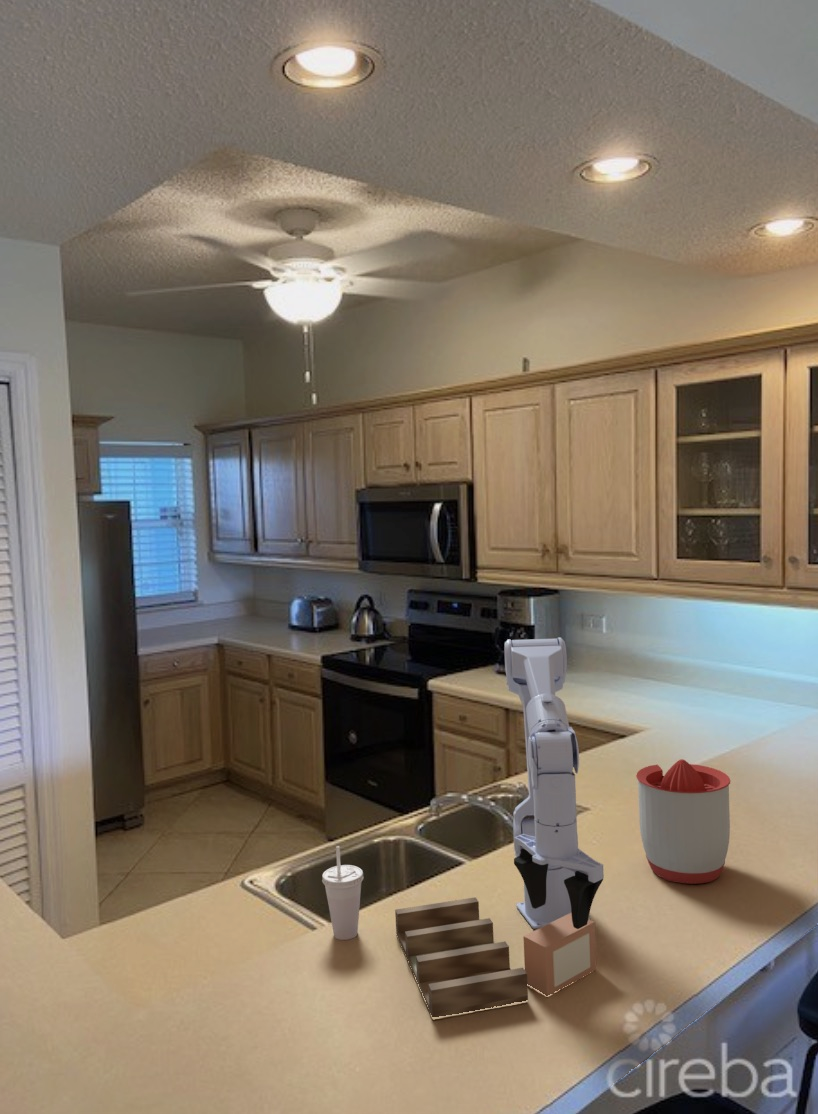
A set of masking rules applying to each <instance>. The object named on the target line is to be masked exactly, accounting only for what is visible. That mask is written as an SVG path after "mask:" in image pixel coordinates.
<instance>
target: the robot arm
mask: <svg viewBox="0 0 818 1114" xmlns="http://www.w3.org/2000/svg"><path fill="white" fill-rule="evenodd" d="M503 652H504V669H505V674H506V675H505V676H506V679H505V680H506V685H507V686H508V687H507V689H508V691H510V692H512V693H514V694H515V695H518V697H519V699H520V702H521V705H522V709H523V720H524V721H523V722H524V723H523V724H524V725H523V726H524V736H525V737H524V739H525V740H524V741H525V754H526V757H525V758H526V771H527V772H526V773H527V785H528V796H527V797H526V798H525V799H524V800H523V801H522V802H520V803H519V804H518V805H517V806H516V807H515V808H514V811H513V813H512V815H513V823H512V827H513V828H512V832H513V833H512V834H513V846H514V847H513V849H514V850H513V851H514V856H515V857H513V865H514V866H515V868H516V869H517V870H518V872H519V874H520V876H521V877H522V880H523V893H524V901H522V902H518V903H516V908H517V910H518V911H519V912H520V914H521V915H522V916H523V918H524V919H525V920H526V921H527V923H529V924H528V925H530V927H531V928H532V929H534V930H537V929H539V928H541V927H543V926H545V925H547V924H549V923H551V922H553V921H555V920H557V919H559V918H561V917H563V916H565V915H567V914H569V913H572V922H573V926H574V928H576V929H579V928H581V927H583V926H585V925H587V923H588V919H589V920H591V919H590V914H591V913H590V911H591V908H592V904H593V902H594V899H595V897H596V894H597V892H598V890H599V888H600V886H601V884H602V882H603V881H604V876H605V875H604V874H605V873H604V864H603V863H602V862H601V863H600V862H599V861H597V860H595V859H593V858H592V857H591V856H589V855H588V854H587V853H585V852H584V851H583V850H581V849H580V848H579V839H578V838H579V837H578V824H577V823H578V822H577V821H578V819H577V818H578V817H577V796H576V795H577V790H576V786H577V785H576V774H578V773H579V767H580V766H579V765H580V751H579V750H580V749H579V742H578V739H577V735H576V732H575V730H574V729H573V726H570V723H569V718H568V714H567V708H566V705H565V702H564V701H563V700H562V699H561V698H560V697H559V696H557V695H556V693H557V692H559V691H561V690H563V687H564V683H566V682H565V679H566V673H567V670H568V658H567V657H568V656H567V655H568V654H567V646H566V642H565V640H564V639H563V638H562V637H557V638H533V639H529V638H528V639H512V640H511V639H510V638H509V639H508V638H507V640H506V641H504V651H503ZM575 773H576V774H575ZM528 816H534V818H525V817H528Z"/></svg>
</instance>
